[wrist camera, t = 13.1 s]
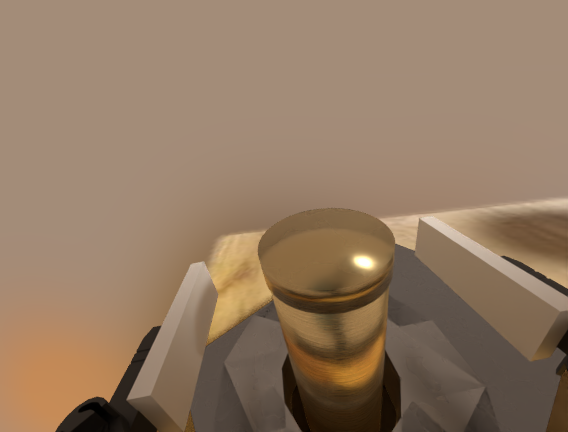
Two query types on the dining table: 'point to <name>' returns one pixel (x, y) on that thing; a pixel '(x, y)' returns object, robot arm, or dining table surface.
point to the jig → (388, 368)
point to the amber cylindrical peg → (333, 311)
